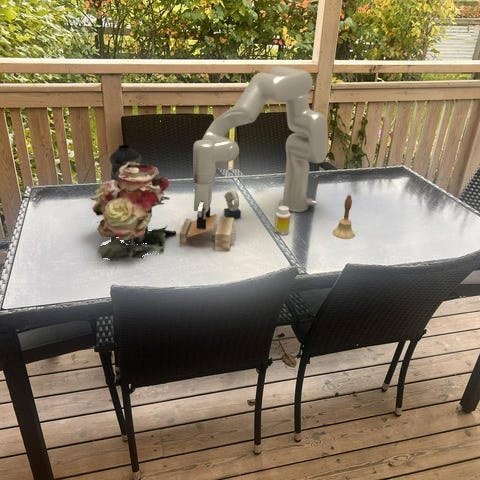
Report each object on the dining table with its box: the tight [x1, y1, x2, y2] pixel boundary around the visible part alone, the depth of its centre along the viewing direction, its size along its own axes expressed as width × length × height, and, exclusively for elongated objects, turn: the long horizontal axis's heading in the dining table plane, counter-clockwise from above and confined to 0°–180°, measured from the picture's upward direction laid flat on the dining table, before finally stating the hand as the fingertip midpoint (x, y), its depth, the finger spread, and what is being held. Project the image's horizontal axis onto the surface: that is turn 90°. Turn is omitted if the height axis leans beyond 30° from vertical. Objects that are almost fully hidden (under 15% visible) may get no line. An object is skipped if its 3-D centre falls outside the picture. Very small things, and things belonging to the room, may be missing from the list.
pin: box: [211, 227, 237, 246], centre depth 164 cm, size 8×4×5 cm, turn 85°
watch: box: [223, 190, 242, 220], centre depth 181 cm, size 6×8×11 cm
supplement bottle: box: [273, 205, 291, 236], centre depth 171 cm, size 6×6×10 cm
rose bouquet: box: [89, 162, 177, 261], centre depth 153 cm, size 26×29×30 cm
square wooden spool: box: [179, 216, 235, 252], centre depth 164 cm, size 18×14×6 cm
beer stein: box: [108, 144, 142, 189], centre depth 183 cm, size 16×19×25 cm
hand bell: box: [332, 194, 355, 240], centre depth 171 cm, size 8×8×16 cm
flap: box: [186, 213, 217, 239], centre depth 163 cm, size 10×11×1 cm
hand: (203, 222), depth 162 cm, fingers open, 9 cm apart
